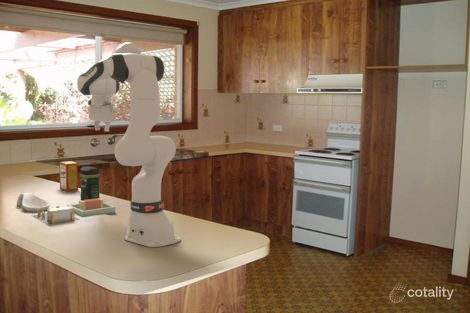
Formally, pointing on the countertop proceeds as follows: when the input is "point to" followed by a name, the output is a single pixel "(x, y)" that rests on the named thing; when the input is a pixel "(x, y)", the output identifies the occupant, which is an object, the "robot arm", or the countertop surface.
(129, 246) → the countertop surface
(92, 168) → the coffee jar
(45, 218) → the fuse holder
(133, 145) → the robot arm
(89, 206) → the fuse
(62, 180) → the baking soda box
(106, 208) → the tray
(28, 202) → the spoon rest
